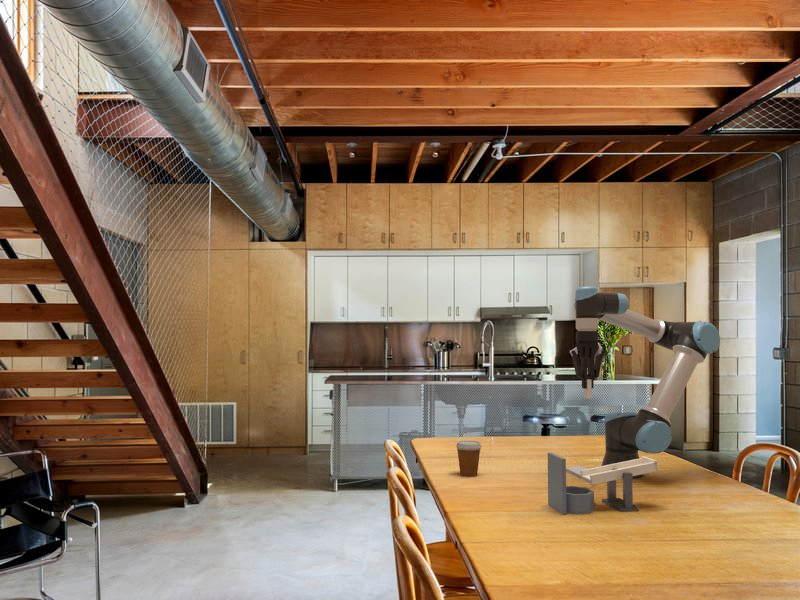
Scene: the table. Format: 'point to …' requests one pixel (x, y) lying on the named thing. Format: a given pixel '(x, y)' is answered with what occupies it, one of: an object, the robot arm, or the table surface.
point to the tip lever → (614, 470)
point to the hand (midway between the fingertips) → (587, 397)
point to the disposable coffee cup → (468, 457)
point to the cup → (566, 490)
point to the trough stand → (627, 500)
